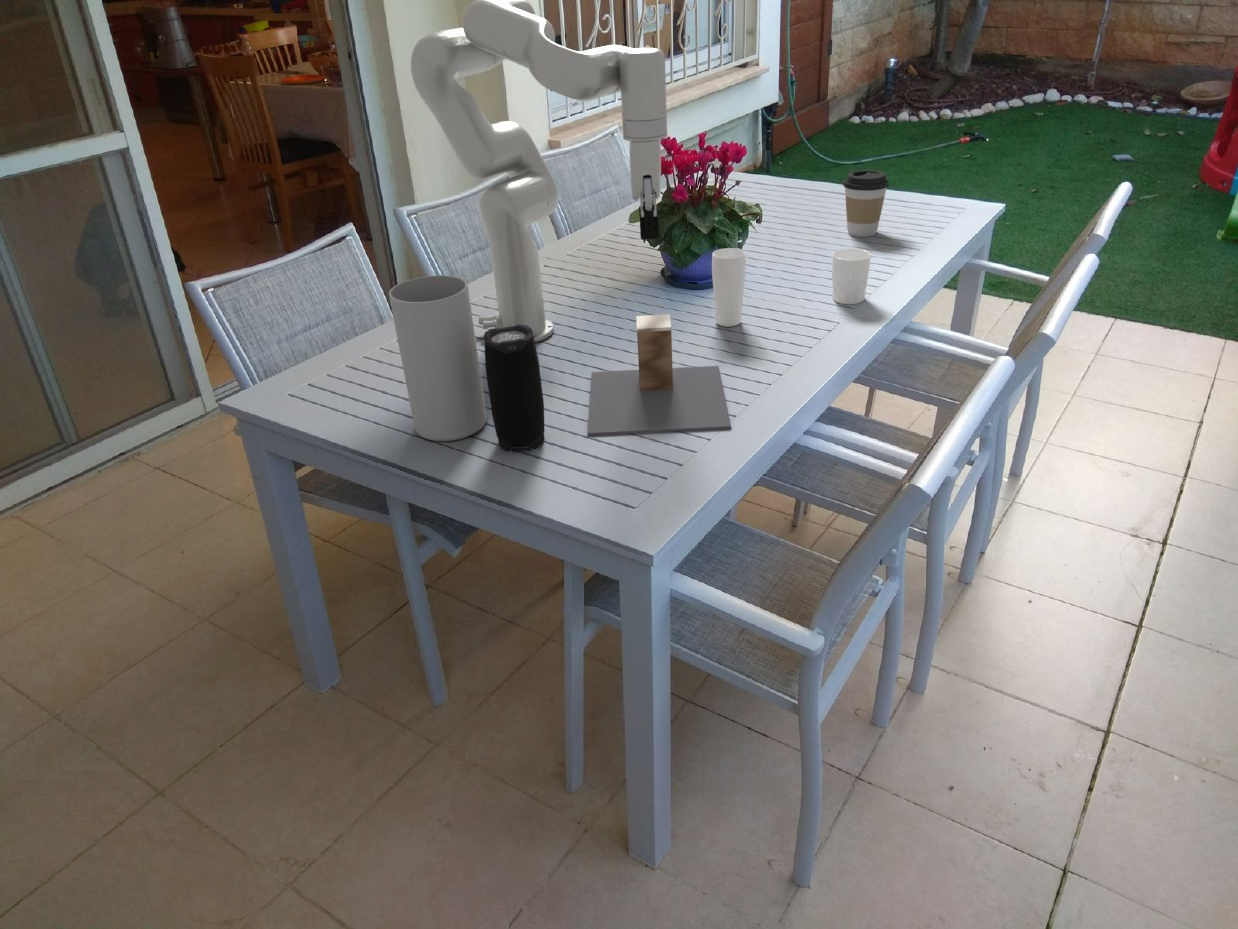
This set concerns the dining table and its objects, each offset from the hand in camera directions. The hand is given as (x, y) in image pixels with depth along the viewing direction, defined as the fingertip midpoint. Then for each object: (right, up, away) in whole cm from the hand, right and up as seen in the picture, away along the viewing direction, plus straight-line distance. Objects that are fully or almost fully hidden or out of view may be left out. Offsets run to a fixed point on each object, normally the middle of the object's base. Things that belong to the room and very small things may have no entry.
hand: (649, 232), depth 167 cm
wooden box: (+1, -27, +4) cm, 27 cm away
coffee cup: (+58, +18, +75) cm, 96 cm away
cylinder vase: (-35, -35, -5) cm, 49 cm away
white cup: (+45, -6, +36) cm, 57 cm away
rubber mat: (+1, -30, -1) cm, 30 cm away
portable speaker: (-22, -38, -11) cm, 45 cm away
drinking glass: (+18, -12, +28) cm, 35 cm away
